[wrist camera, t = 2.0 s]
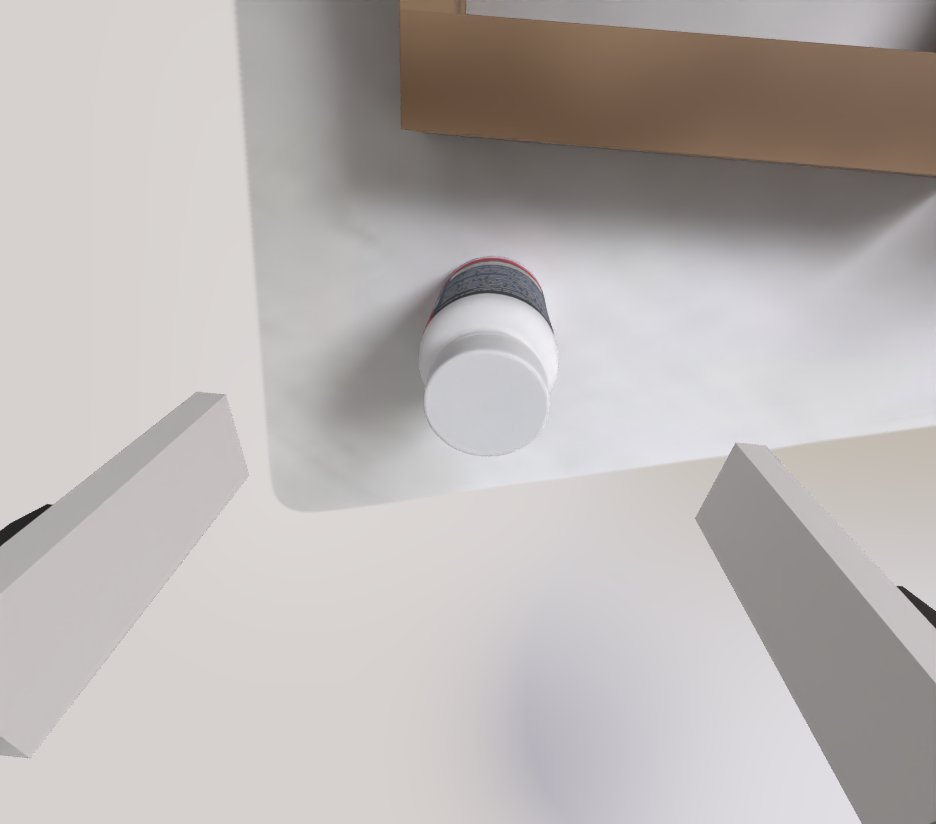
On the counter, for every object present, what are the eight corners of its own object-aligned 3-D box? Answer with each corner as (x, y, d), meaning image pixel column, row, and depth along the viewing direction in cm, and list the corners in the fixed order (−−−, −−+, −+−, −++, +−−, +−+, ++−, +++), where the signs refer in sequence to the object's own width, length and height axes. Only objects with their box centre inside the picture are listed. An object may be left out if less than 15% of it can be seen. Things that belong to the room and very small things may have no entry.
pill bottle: (427, 265, 19) (379, 340, 12) (539, 244, 18) (565, 311, 11) (450, 365, 22) (425, 478, 14) (549, 351, 21) (575, 463, 14)
